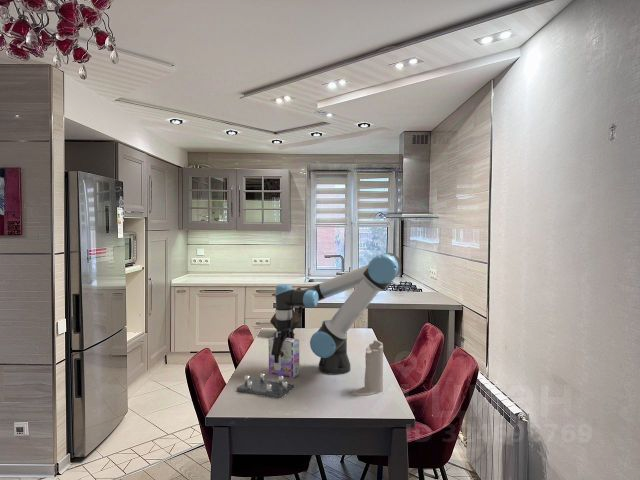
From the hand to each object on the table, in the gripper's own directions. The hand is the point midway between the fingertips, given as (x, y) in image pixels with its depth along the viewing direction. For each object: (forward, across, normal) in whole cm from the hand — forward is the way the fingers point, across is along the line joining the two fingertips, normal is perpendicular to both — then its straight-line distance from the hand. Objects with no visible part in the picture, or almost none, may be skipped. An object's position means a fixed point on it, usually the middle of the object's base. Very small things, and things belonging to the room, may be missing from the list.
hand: (284, 365), depth 194 cm
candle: (+4, +6, +41) cm, 42 cm away
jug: (+4, -63, -31) cm, 70 cm away
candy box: (+4, 0, 0) cm, 4 cm away
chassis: (+4, +20, +2) cm, 20 cm away
